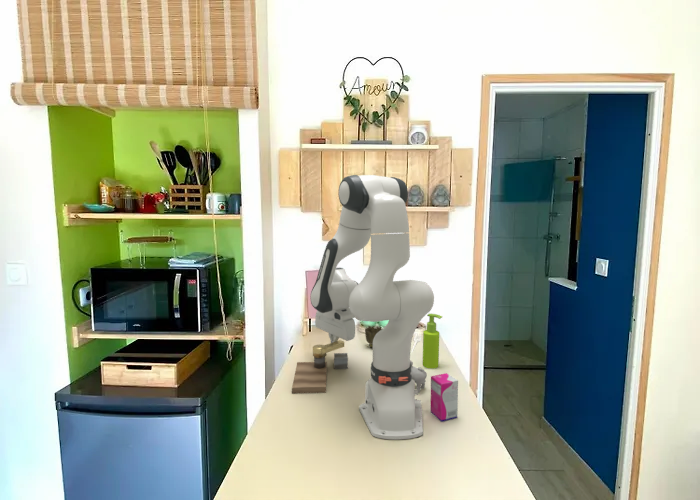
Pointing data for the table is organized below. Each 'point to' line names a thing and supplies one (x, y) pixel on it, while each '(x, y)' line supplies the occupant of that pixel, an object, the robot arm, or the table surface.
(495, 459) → the table surface
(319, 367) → the lock base
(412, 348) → the fork
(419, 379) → the pig figurine
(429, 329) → the soap dispenser
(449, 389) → the supplement box
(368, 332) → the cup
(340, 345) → the latch lever
